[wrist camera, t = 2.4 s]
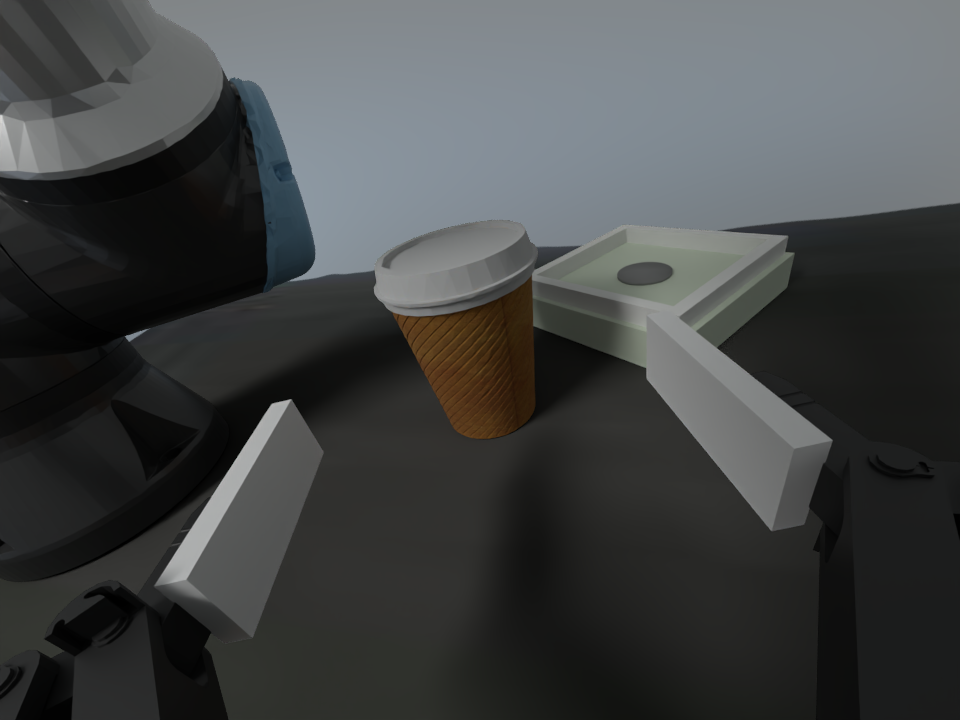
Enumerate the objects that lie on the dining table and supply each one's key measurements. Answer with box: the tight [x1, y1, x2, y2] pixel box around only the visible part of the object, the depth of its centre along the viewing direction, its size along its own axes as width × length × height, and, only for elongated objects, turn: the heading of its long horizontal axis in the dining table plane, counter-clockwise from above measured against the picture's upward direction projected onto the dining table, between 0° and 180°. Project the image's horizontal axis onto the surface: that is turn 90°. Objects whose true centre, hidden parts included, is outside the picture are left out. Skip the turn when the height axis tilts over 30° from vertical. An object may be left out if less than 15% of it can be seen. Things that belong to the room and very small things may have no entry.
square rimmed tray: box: [532, 225, 795, 368], centre depth 34 cm, size 16×16×4 cm
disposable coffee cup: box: [374, 220, 538, 439], centre depth 24 cm, size 10×10×12 cm
